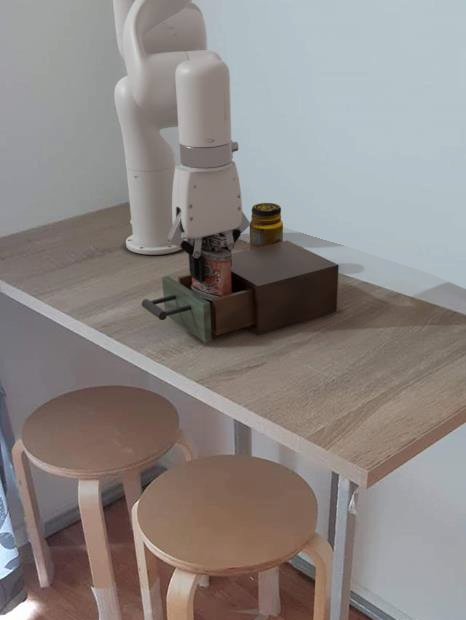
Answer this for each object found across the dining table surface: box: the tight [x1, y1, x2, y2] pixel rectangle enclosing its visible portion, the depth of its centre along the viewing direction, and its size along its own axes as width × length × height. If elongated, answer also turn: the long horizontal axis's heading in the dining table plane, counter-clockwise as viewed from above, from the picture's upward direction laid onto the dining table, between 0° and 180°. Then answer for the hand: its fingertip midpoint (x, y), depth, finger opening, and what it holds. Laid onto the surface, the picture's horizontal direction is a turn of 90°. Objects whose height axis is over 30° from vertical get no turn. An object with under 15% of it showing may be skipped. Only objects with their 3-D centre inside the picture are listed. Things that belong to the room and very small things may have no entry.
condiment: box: [249, 202, 284, 250], centre depth 149 cm, size 7×8×12 cm
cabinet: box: [231, 240, 340, 335], centre depth 137 cm, size 16×15×8 cm
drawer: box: [141, 273, 256, 343], centre depth 132 cm, size 20×13×6 cm, turn 122°
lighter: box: [191, 234, 233, 301], centre depth 129 cm, size 8×3×10 cm, turn 47°
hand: (211, 275), depth 130 cm, fingers closed on lighter, 4 cm apart
